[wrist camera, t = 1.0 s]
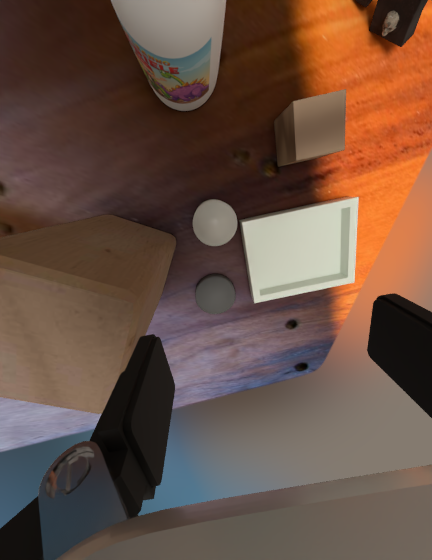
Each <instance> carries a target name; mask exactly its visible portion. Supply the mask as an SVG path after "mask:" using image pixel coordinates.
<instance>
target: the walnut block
mask: <svg viewBox="0 0 432 560" xmlns="http://www.w3.org/2000/svg"><path fill="white" fill-rule="evenodd" d="M345 114H346V89H345V90H340V91H336V92H332V93H328V94H323V95H319V96H315V97H310V98H306V99H302V100H297V101H293V102H292V103H291V104H290V105H289V106H288V107H287V108H286V109H285V110H284V111H283V112H282V113H281V114H280V115H279V116H278V117H277V118H276V119H275V120H274V127H275V139H276V151H277V163H278V167H280V166H284V165H289V164H293V163H298V162H302V161H307V160H311V159H316V158H319V157H322V156H326V155H329V154H332V153H336V152H339V151H342V150H345Z"/></svg>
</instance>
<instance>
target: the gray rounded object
mask: <svg viewBox="0 0 432 560" xmlns="http://www.w3.org/2000/svg"><path fill="white" fill-rule="evenodd" d="M234 301H235V290H234V287H233V284H232V282H231V281H230V280H229V279H228V278H227V277H226V276H224V275H221V274H210V275H207V276H205V277H203V278H202V279H201V280H200V281H199V283H198V284H197V287H196V302H197V304H198V306H199V307H200V308H201V309H202V310H203V311H205V312H207V313H211V314H220V313H223V312H225V311H227V310H228V309H229V308H230V307H231V306H232V305H233V303H234Z"/></svg>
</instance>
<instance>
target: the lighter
mask: <svg viewBox="0 0 432 560" xmlns="http://www.w3.org/2000/svg"><path fill="white" fill-rule="evenodd" d="M356 1H357V2H358V3H359V4H361V5H362V6H364V7H367V6H368V5H369V4H370V2H371V1H372V0H356ZM427 1H428V0H378V1H377V5H376V8H375V12H374V15H373V19H372V22H371V26H370V29H369V31H371V32H373V33H375V34H377V35H379V36H381V37H382V38H384V39H386V40H388V41H390V42H392V43H394V44H396V45H398V46H400V47H402V46H403V45H404V44H405V43H406V41H407V40H408V39H409V38H410V37H411V36H412V35H413V34H414V31H415V29H416V26H417V23H418V21H419V18H420V15H421V13H422V10H423V8H424V6H425V5H426V3H427Z"/></svg>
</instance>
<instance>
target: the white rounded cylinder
mask: <svg viewBox="0 0 432 560" xmlns="http://www.w3.org/2000/svg"><path fill="white" fill-rule="evenodd" d="M193 229H194V232H195V234H196V236H197V237H198V239H199V240H200V241H202V242H203V243H205V244H207V245H210V246H220V245H223V244H225V243H227V242H228V241H229V240H230V239H231V238H232V237H233V236H234V234H235V232H236V229H237V217H236V214H235V212H234V210H233V209H232V208H231V207H230V206H229V205H228V204H226V203H225V202H222V201H220V200H217V199H208V200H206V201H204V202H202V203H201V204H200V205H199V206H198V208H197V210H196V212H195V214H194V217H193Z"/></svg>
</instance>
